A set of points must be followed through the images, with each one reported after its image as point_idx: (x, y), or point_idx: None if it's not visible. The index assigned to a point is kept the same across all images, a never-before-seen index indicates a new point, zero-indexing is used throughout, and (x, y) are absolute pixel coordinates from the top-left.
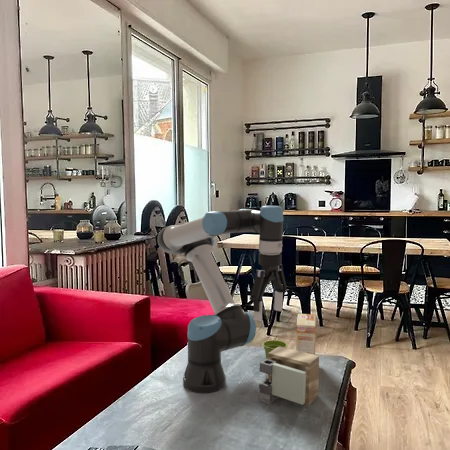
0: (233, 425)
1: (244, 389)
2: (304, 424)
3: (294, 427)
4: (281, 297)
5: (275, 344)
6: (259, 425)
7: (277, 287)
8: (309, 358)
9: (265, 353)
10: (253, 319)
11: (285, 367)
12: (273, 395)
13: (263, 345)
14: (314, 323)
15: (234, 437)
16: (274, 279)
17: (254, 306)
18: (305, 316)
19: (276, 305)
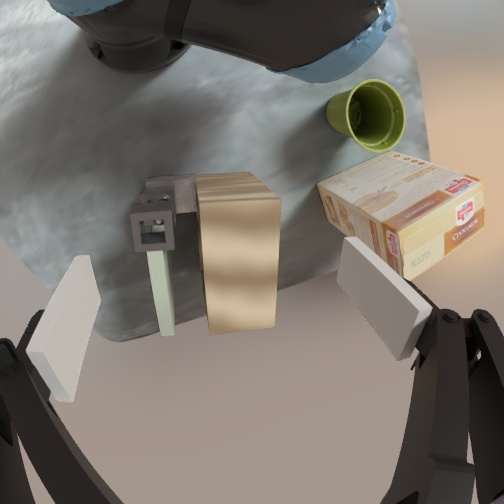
0: (40, 206)
1: (175, 117)
2: (134, 299)
3: (113, 292)
4: (380, 337)
5: (393, 106)
6: (72, 242)
7: (425, 370)
8: (241, 319)
9: (348, 91)
10: (75, 257)
11: (157, 289)
12: None
13: (354, 87)
14: (425, 269)
15: (20, 233)
16: (401, 486)
17: (25, 340)
18: (469, 213)
19: (357, 267)
